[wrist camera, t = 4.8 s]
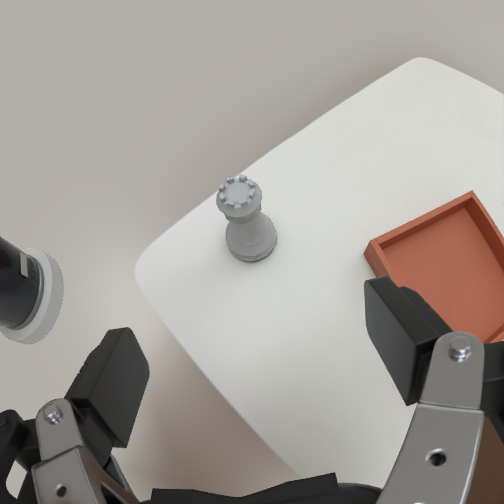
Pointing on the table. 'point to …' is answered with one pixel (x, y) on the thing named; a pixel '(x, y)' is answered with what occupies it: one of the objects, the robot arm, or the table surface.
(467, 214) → the terracotta tray
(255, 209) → the rook chess piece
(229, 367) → the table surface
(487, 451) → the walnut tray
